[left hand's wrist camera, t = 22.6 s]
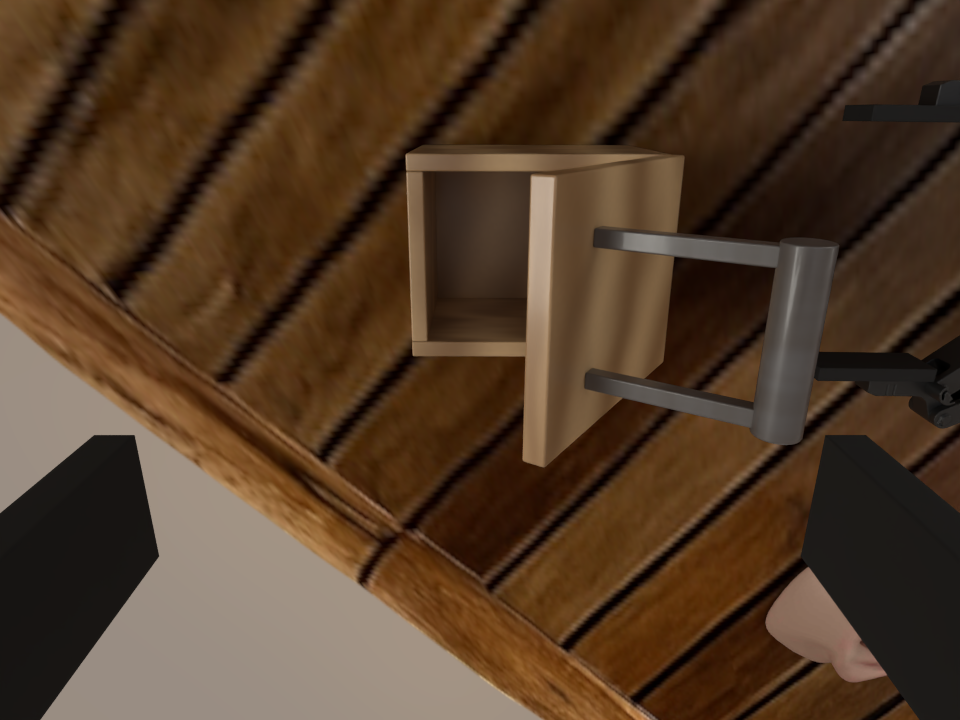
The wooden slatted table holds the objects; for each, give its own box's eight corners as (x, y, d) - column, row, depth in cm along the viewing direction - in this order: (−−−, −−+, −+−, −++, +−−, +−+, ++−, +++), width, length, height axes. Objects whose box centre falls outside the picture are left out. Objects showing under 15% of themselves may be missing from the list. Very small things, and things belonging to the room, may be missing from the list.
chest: (426, 306, 44) (412, 356, 35) (422, 144, 40) (405, 153, 31) (616, 306, 44) (652, 356, 35) (629, 145, 40) (672, 154, 31)
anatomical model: (771, 688, 50) (828, 565, 46) (750, 649, 54) (802, 532, 50) (933, 715, 51) (1004, 596, 47) (903, 674, 55) (965, 561, 51)
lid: (521, 461, 24) (772, 539, 20) (529, 173, 21) (837, 190, 16) (645, 358, 35) (829, 395, 30) (665, 154, 31) (876, 161, 27)
